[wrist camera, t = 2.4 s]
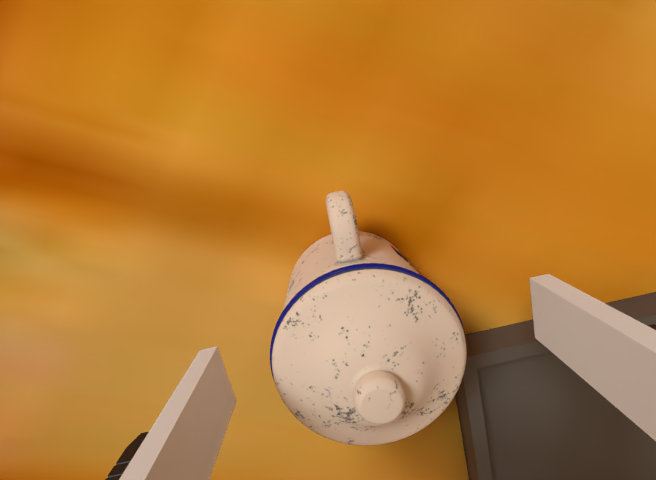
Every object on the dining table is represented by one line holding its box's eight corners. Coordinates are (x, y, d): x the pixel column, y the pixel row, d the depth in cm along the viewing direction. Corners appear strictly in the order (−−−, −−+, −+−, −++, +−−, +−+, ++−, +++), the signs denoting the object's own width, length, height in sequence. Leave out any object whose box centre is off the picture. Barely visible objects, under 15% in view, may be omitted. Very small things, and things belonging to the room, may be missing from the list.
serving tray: (481, 555, 30) (495, 589, 28) (446, 339, 25) (460, 358, 23) (750, 498, 30) (788, 528, 27) (771, 266, 25) (820, 278, 22)
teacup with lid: (421, 334, 25) (508, 480, 14) (300, 356, 25) (287, 520, 14) (400, 171, 22) (488, 185, 11) (263, 196, 22) (209, 237, 11)
